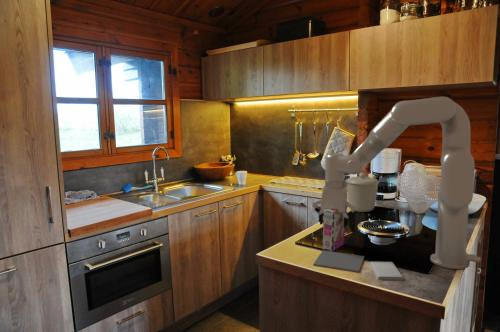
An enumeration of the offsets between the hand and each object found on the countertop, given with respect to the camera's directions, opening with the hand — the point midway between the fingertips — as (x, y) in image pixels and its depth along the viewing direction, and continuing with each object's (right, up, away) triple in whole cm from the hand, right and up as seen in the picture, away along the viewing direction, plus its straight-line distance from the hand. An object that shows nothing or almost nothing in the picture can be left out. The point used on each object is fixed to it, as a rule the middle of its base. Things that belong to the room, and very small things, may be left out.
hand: (333, 225), depth 150 cm
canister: (+29, -1, +56) cm, 63 cm away
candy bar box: (+1, -9, +1) cm, 9 cm away
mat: (-1, -11, -13) cm, 18 cm away
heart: (+56, -1, +46) cm, 72 cm away
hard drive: (+13, -13, -23) cm, 29 cm away
